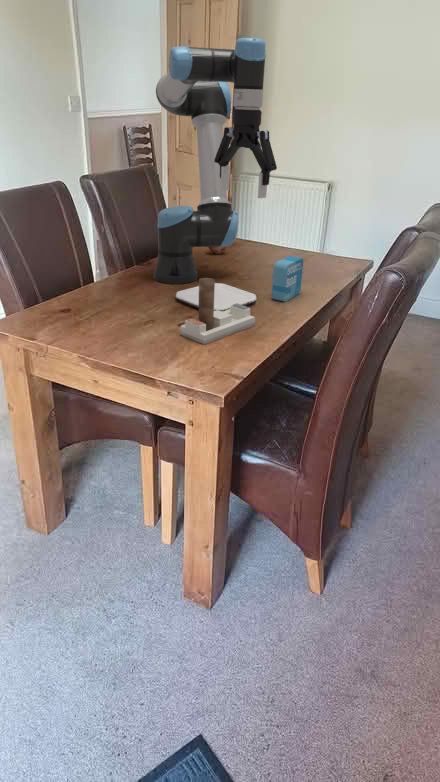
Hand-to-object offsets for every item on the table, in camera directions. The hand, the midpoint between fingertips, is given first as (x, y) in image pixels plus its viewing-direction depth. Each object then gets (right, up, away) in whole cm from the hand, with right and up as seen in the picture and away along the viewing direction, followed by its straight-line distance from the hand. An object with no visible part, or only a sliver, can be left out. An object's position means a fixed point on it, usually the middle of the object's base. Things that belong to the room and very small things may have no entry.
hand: (242, 194), depth 156 cm
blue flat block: (+15, -24, +26) cm, 38 cm away
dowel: (-10, -38, -5) cm, 40 cm away
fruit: (-7, +1, +70) cm, 71 cm away
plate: (-8, -27, +20) cm, 34 cm away
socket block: (-7, -38, -2) cm, 38 cm away
